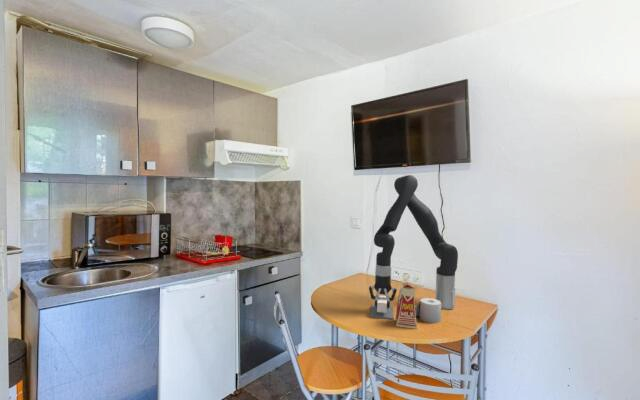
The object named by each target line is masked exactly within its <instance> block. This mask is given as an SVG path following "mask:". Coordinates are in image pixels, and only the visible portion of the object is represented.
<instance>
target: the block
mask: <svg viewBox="0 0 640 400" xmlns="http://www.w3.org/2000/svg"><path fill="white" fill-rule="evenodd" d="M377 312H383V313H387V298H386V295H383V294H379V297H378V301H377Z"/></svg>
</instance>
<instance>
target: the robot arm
mask: <svg viewBox="0 0 640 400" xmlns="http://www.w3.org/2000/svg"><path fill="white" fill-rule="evenodd" d="M393 186H394V190H395V192H396V193H397V194H398V196H397V199H396V200H395V202H394V203H393V204H392V205H391V207H390V208H389V209H388V211H387V214H386V216H385V218H384V221H383V223H382V225H381V226H380V227H379V229H378V230H377V231H376V233H375V235H374V238H373V242H374V245H375V246H376V247H378V248H382V251H379V252H377V254H376V256H375V257H376V261H375V263H376V264H375V275H374V276H375V278H374V279H375V280H374V284H373V285H369V286H368V290H369V294H370V298H371V300H374V305H375V307H376V308H377V301H378V297H379V295H386V298H387V309H388V308H389V307H391V306H390V305H391V301H392V302H394V301H395V300H394V299H395V297H396V294H397V288H396V287H392V285H391V284H392V283H391V281H392V267H391V265H392V264H391V262H392V261H391V260H392V259H391V257H392V255H393V251H394V248H395V246H396V245H395V244H396V243H395V241H396V240H395V238H394V236H393V235H391V234H390V233H393V232H395V231H396V230H397V229H398V227H399V224H400V221H401V219H402V217H403V214H404V212H405V210H406V208H408V210H409V212H410V213H411V214H412V216H413V218H414V220H415V222H416V224H417V225H418V226H419V228H420V230H421V231H422V233H423V234H424V236H425V237H426V239H427V240H428V242H429V244H430V246H431V249H432V251H433V253H434V255H435V256H436V258H437V259H439V260H440V262H439V263H440V264H439V266H438V267H436V271H435V272H436V276H435V298H434V299H436V300H439V301H440V302H441V309H444V310H454V309H455V306H456V287H455V286H456V285H455V282H456V272H457V269H458V259H459V252H458V249H457V247H455V246H454V245H453V244H449V243H448V242H446V240H445V239H444V238H443V236H442V234H441V233H440V229H439V225H438V221H437V219H436V216H435V215H434V214H433V213H434V212H432V210H431V209H430V207H428V206H427V205H426V204H424V202H422V201H421V200H420V199H419V198H418V197H417V196H416V194H415V192H416V190H417V189H418V187H419V186H418V178H416V177H415V176H414V175H411V174H408V175H404V176H400V177H397V178H396V179H395V181H394V185H393ZM374 290H375V291H376V294H375V295H374ZM390 291H391V292H392V294H391V296H390V295H389V292H390Z"/></svg>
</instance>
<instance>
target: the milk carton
mask: <svg viewBox="0 0 640 400" xmlns="http://www.w3.org/2000/svg"><path fill="white" fill-rule="evenodd" d="M404 282H405V283H403V285H401V286H400V288H399V294H398V298H397V304H396V310H395V311H396V313H395V321H396V327H401V328H408V329H417V330H418V322H417V321H418V320H417V316H416V313H415V307H416V305H415V304H416V303H415V302H416V301H415V298H416V297H415V296H416V294H415V293H416V292H415V291H416V289H415V287H413V286H411V285H410V284H409V283H410V282H409V281H406V280H405V281H404Z"/></svg>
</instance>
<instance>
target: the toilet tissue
mask: <svg viewBox="0 0 640 400" xmlns="http://www.w3.org/2000/svg"><path fill="white" fill-rule="evenodd" d="M415 313H416V317H419V319H420V320H421V321H422V322H425V323H428V324H439V323H440V322H441V321H442V308H441V302H440V301H439V300H436V299H435V298H431V297H424V298H421V299H420V300H419V302H418V304H417V305H415Z"/></svg>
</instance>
